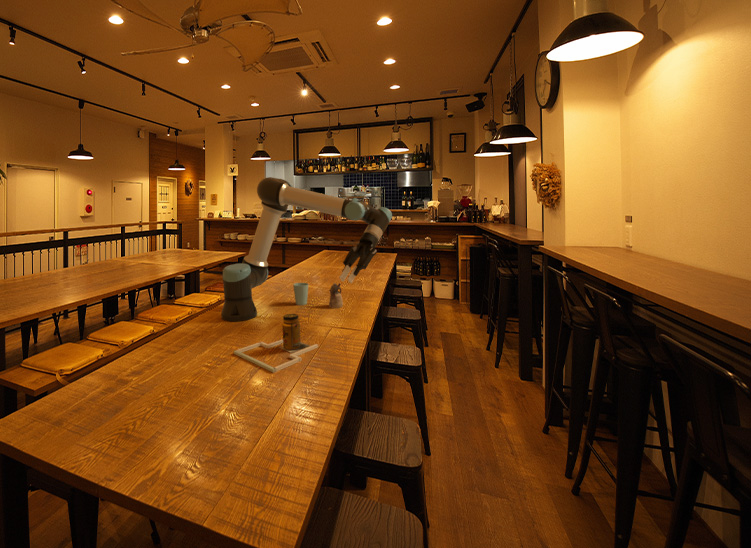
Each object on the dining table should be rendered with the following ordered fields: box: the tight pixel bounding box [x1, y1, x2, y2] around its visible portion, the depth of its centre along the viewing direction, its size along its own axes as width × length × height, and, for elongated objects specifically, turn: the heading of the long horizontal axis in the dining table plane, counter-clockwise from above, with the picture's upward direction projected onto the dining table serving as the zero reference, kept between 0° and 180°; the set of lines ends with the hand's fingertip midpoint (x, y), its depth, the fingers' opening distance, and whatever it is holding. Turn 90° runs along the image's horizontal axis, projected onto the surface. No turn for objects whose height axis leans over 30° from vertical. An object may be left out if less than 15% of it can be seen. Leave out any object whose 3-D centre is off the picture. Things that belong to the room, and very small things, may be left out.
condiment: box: [278, 313, 310, 354], centre depth 125 cm, size 7×8×12 cm
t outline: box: [233, 338, 319, 374], centre depth 121 cm, size 22×22×1 cm
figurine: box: [328, 282, 344, 309], centre depth 177 cm, size 7×7×12 cm
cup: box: [292, 282, 309, 306], centre depth 181 cm, size 8×8×10 cm
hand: (345, 280), depth 144 cm, fingers open, 4 cm apart
